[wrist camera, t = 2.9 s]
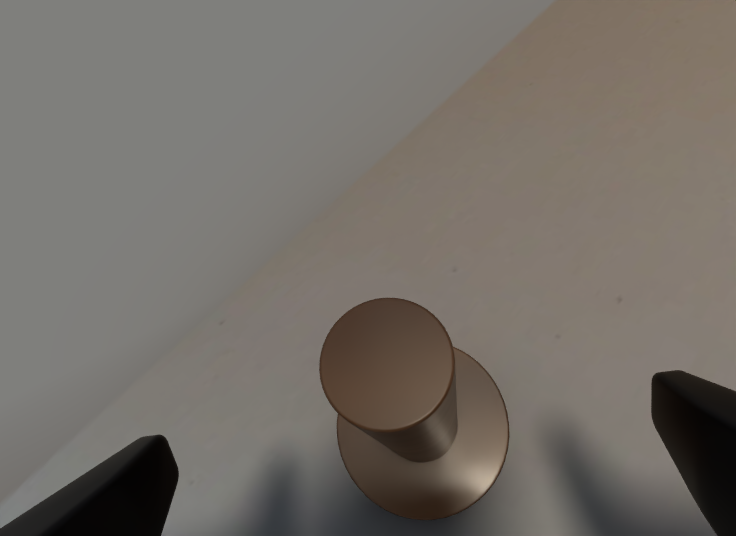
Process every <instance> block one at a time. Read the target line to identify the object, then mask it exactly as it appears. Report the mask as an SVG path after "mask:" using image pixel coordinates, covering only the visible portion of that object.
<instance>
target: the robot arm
mask: <svg viewBox="0 0 736 536" xmlns="http://www.w3.org/2000/svg"><path fill="white" fill-rule="evenodd" d="M651 413H652V419H653V423H654V426H655V428H656V430H657V432H658V433H659V435H660V437H661V439H662V441H663V443H664V445H665V446H666V448H667V450H668V452H669V454H670V456H671V457H672V459H673V461H674V463H675V465H676V467H677V468H678V470H679V472H680V474H681V476H682V478H683V480H684V481H685V483H686V485H687V487H688V489H689V491H690V492H691V494H692V496H693V498H694V500H695V501H696V503H697V505H698V507H699V508H700V510H701V512H702V513H703V515H704V516H705V518H706V519H707V521H708V522H709V524H710V526H711V527H712V528H713V530H714V531H715V533H716V534H717V536H736V391H733V390H731V389H728V388H726V387H723V386H720V385H718V384H715V383H712V382H710V381H707V380H705V379H702V378H699V377H697V376H694V375H691V374H689V373H686V372H684V371H680V370H675V371H667V372H659V373H656V374H655V375H654V376H653V378H652V399H651ZM178 477H179V471H178V467H177V464H176V461H175V459H174V456H173V454H172V451H171V449H170V446H169V444H168V441H167V439H166V438H165V437H164V436H162V435H153V436H145V437H141V438H139V439H137V440H136V441H134V442H133V443H131V444H130V445H128V446H127V447H125V448H124V449H122V450H120V451H119V452H117V453H116V454H114V455H113V456H111V457H110V458H108V459H107V460H105V461H104V462H102V463H100V464H99V465H97V466H96V467H94V468H93V469H91V470H90V471H88V472H87V473H85V474H84V475H82V476H80V477H79V478H77V479H76V480H74V481H73V482H71V483H70V484H68V485H67V486H65V487H64V488H62V489H60V490H59V491H57V492H56V493H54V494H53V495H51V496H50V497H48V498H47V499H45V500H44V501H42V502H40V503H39V504H37V505H36V506H34V507H33V508H31V509H30V510H28V511H27V512H25V513H24V514H22V515H20V516H19V517H17V518H16V519H14V520H13V521H11V522H10V523H8V524H7V525H5V526H4V527H2V528H0V536H161V534H162V531H163V528H164V524H165V521H166V518H167V515H168V512H169V508H170V505H171V502H172V499H173V496H174V492H175V489H176V486H177V483H178Z"/></svg>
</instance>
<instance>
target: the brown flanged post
mask: <svg viewBox="0 0 736 536" xmlns="http://www.w3.org/2000/svg"><path fill="white" fill-rule="evenodd" d="M319 371H320V379H321V384H322V388H323V390H324V393H325V395H326V397H327V399H328V401H329V403H330V404H331V405H332V407H333V408H334V409H335V411H336V412H337V413H338V417H337V438H338V445H339V450H340V454H341V457H342V460H343V462H344V465H345V467H346V469H347V471H348V473H349V475H350V477H351V478H352V480H353V481H354V482H355V484H356V485H357V487H358V488H359V489H360V490H361V491H362V492H363V493H364V494H365V495H366V496H367V497H368V498H369V499H370V500H371V501H373V502H374V503H375V504H377V505H378V506H380V507H381V508H383V509H385V510H386V511H389V512H391V513H393V514H396V515H398V516H402V517H405V518H409V519H417V520H435V519H441V518H446V517H449V516H452V515H455V514H458V513H460V512H462V511H464V510H465V509H467V508H469V507H470V506H472V505H473V504H475V503H476V502H477V501H479V500H480V499H481V498H482V497H483V496H484V495H485V494H486V493H487V492H488V490H489V489H490V488H491V486H492V485H493V484H494V483H495V481H496V479H497V477H498V476H499V474H500V472H501V469H502V467H503V464H504V462H505V458H506V454H507V450H508V443H509V421H508V415H507V410H506V407H505V403H504V400H503V398H502V395H501V393H500V391H499V389H498V387H497V385H496V384H495V382H494V380H493V379H492V378H491V376H490V375H489V374H488V372H487V371H486V370H485V369H484V368H483V367H482V366H481V365H480V364H479V363H478V362H477V361H476V360H474V359H473V358H472V357H471V356H469V355H468V354H466V353H464V352H463V351H461V350H459V349H457V348H455V347H453V346H452V342H451V340H450V337H449V335H448V333H447V331H446V329H445V328H444V326H443V325H442V324H441V322H440V321H439V320H438V319H437V318H436V317H435V316H434V315H433V314H432V313H431V312H429V311H428V310H427V309H425V308H424V307H422V306H420V305H418V304H416V303H414V302H411V301H408V300H404V299H398V298H379V299H374V300H370V301H367V302H364V303H362V304H360V305H357V306H355V307H354V308H352V309H351V310H349V311H348V312H347V313H345V314H344V315H343V316H342V317H341V318H340V319H339V320H338V321H337V322H336V323H335V324H334V326H333V327H332V329H331V330H330V332H329V333H328V335H327V337H326V339H325V342H324V344H323V347H322V351H321V356H320V368H319Z"/></svg>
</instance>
